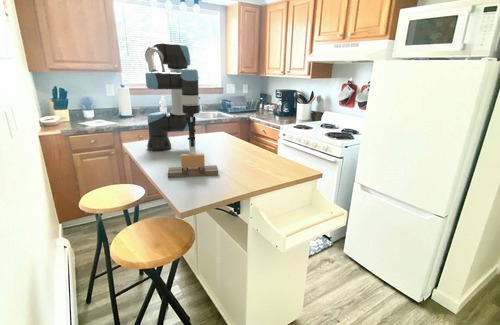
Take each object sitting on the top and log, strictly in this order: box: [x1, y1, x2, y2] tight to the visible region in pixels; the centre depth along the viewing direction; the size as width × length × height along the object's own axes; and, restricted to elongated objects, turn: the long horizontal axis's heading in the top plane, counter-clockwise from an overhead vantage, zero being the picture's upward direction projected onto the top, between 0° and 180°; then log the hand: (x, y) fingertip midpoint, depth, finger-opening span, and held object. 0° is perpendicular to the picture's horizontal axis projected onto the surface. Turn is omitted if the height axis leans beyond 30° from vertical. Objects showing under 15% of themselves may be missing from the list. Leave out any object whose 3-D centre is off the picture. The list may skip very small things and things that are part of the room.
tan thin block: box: [180, 152, 206, 171], centre depth 132 cm, size 3×11×10 cm, turn 103°
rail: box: [167, 164, 219, 179], centre depth 133 cm, size 8×24×2 cm, turn 103°
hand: (192, 148), depth 130 cm, fingers open, 13 cm apart
